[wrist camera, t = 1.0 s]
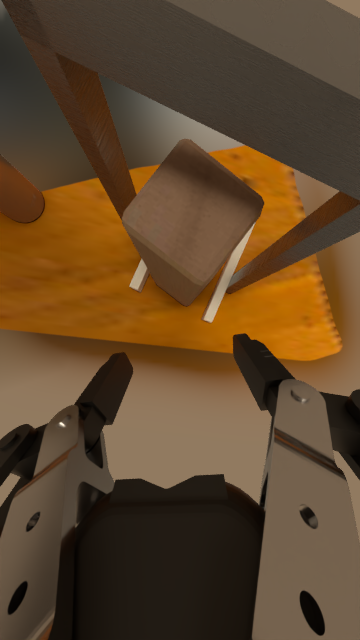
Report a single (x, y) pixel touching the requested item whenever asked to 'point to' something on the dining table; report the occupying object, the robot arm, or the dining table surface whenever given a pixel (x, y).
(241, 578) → the robot arm
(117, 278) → the dining table surface
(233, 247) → the wooden block
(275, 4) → the arch
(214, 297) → the walled lane
